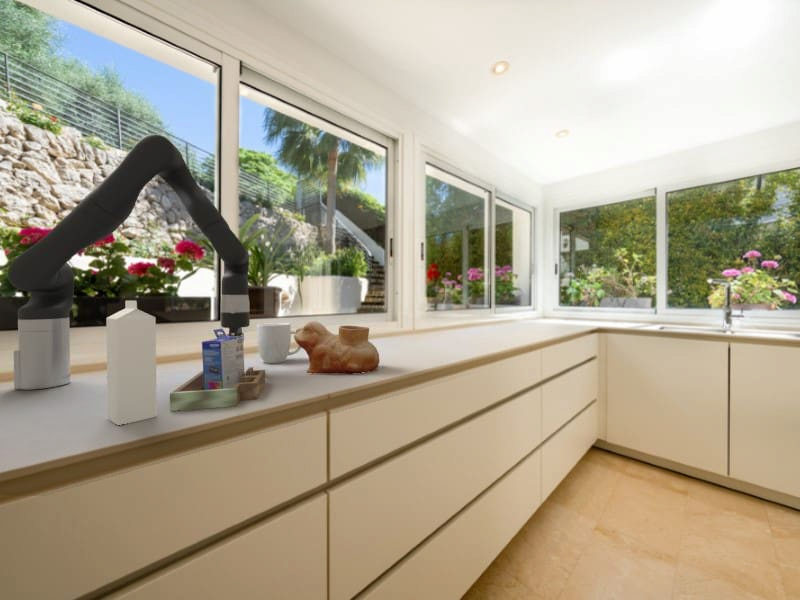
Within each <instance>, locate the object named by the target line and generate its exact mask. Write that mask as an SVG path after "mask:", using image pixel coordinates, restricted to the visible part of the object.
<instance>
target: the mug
mask: <svg viewBox="0 0 800 600" xmlns="http://www.w3.org/2000/svg"><path fill="white" fill-rule="evenodd" d="M291 325H292V324H291V323H289V322H273V323H271V322H268V323H260V324H259V323H258V324H257V325H256V342H257V343H256V344H257V349H258V353H259V356H260V358H261V360H262V361H263V363H265V364H279V363H283V362H285V361H286V359H287V357H288V356H292V355H295V354H297V353H298V352H299V351H300V350H301V349H302V347H300V346H299V345H298V347H297V348H296V349H295V350H294V351H291V352H290V347H291V342H292V341H291V338H292V335H295V333H296V330H291Z"/></svg>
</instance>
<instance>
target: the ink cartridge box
mask: <svg viewBox="0 0 800 600" xmlns="http://www.w3.org/2000/svg"><path fill="white" fill-rule="evenodd" d="M213 332H214V333H213V334H215V337H216V338H213V339H209V340H204V341H201V350H202V351H201V353H202V355H201V356H202V371H203V377H204V387H203V388H204V389H203V390H214V389H229V388H232V387H233V386H234V385H235V384H236V383H240V378H241V377H242V376H246V373H245V354H244V353H245V352H244V349H245V348H244V342H243V336H227V334H226V332H225V330H224V328H219V329H213ZM219 332H220V333H221V334H219Z"/></svg>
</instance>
